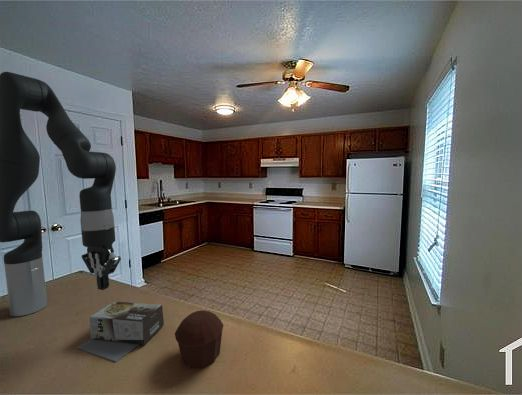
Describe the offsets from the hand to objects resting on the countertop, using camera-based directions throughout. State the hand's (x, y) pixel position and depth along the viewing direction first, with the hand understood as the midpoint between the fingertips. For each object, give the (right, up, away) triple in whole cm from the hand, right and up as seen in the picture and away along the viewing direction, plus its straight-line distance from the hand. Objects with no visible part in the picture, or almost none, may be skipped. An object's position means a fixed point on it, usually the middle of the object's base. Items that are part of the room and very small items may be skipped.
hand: (103, 288), depth 69 cm
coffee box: (-2, -9, +2) cm, 10 cm away
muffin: (+29, -13, -8) cm, 33 cm away
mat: (+5, -13, -1) cm, 14 cm away
